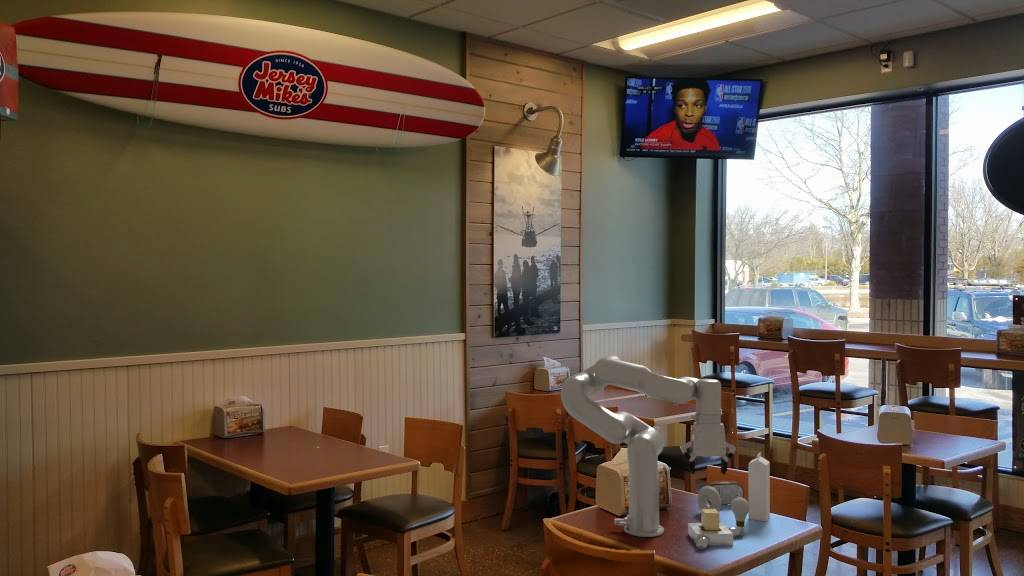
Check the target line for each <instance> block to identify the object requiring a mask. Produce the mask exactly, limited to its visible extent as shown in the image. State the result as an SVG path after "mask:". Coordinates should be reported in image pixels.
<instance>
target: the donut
mask: <svg viewBox="0 0 1024 576" xmlns="http://www.w3.org/2000/svg"><path fill="white" fill-rule="evenodd" d="M708 496H709V497H710V499H711V504H709V503H708V501H707V497H708ZM696 499H697V503H698V507H699V509H700V510H701V509H716V510H717V511H718V512H719V513H720V511H721V509H722V508H721V507H722V505H721V498H720V495H719V493H718V492H717V490H716V489H715V488H713V487H711V486H706V485H705V486H703V487H701V488H700V489H699V491H698V493H697V498H696Z"/></svg>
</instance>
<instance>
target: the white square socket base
mask: <svg viewBox="0 0 1024 576" xmlns="http://www.w3.org/2000/svg"><path fill="white" fill-rule="evenodd" d="M687 525H688V526H687V527H688V529H687V531H688V532H687V533H688V534H689V535H688V534H687V535H688V536H689V537H690V539H691V540H692V539H693V540H694V541H693V540H692V541H693V542H694V543H695V544H696V542H697V541H698V540H699V539H700V538H701V537H702V536H708V537H709V538H710V540H711V541H710V543H709V545H708V546H734V537H733V533H732V532H731V531H730V530H729V529H728V528H729V527H727V526H726V524H724V523H723V522H719V531H704V532H703V531H702V529H701V522H695V523H693V522H690V523H689V522H688V523H687Z"/></svg>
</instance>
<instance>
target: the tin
mask: <svg viewBox="0 0 1024 576" xmlns="http://www.w3.org/2000/svg"><path fill="white" fill-rule="evenodd" d="M705 486H711V487H713V488H715V489H716V490H717V492H718V493H719V495H720V498H721V506H728V505H727V504H731V503H732V501H733V500H734V499H735V498H738V497H741V498H744V497H745V490H744V487H743V486H742V485H741V484H740V483H739V482H738V481H736V480H717V481H716V480H712V481H710V482H708V483H707V484H706V485H705ZM744 499H745V498H744ZM707 501H708V504H709V505H711V499H710V497H709V496H708V497H707Z"/></svg>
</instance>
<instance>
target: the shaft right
mask: <svg viewBox="0 0 1024 576" xmlns="http://www.w3.org/2000/svg"><path fill="white" fill-rule="evenodd" d="M727 528H728V529H729V530H730V531H731V532H732V533H733V538H739V537H740V538H741V537H743V536H744V535H745V531H744V527H743V528H742V527H737V526H733V527H727Z"/></svg>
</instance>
